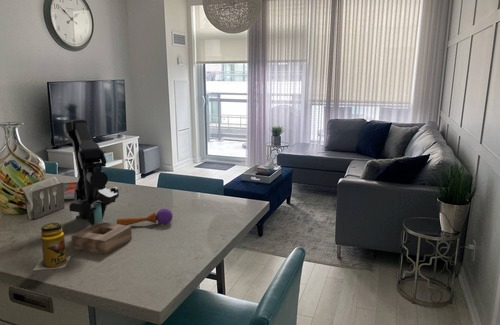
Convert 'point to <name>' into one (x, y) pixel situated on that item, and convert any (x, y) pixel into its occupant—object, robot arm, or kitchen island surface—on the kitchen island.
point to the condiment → (52, 247)
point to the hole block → (101, 237)
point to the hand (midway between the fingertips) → (96, 222)
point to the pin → (97, 213)
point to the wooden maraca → (149, 218)
